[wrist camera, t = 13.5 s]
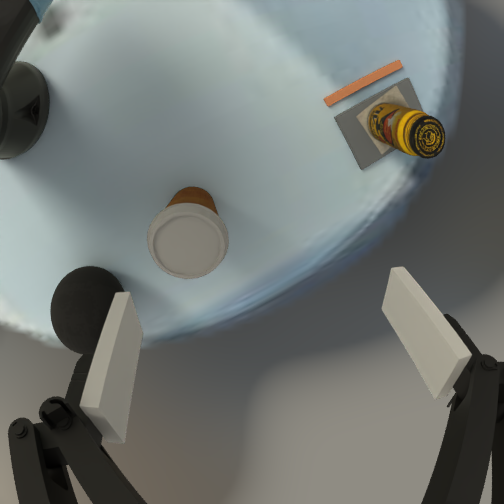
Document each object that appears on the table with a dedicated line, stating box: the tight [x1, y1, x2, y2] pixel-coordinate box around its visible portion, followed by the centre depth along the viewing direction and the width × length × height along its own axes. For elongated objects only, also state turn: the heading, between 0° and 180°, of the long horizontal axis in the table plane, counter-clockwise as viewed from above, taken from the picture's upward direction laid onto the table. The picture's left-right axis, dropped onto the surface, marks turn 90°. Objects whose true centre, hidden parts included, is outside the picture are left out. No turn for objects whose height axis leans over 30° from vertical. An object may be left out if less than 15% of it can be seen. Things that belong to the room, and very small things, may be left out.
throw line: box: [324, 60, 403, 106], centre depth 39 cm, size 1×14×1 cm, turn 123°
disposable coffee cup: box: [147, 187, 229, 279], centre depth 41 cm, size 10×10×12 cm
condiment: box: [356, 86, 445, 159], centre depth 36 cm, size 7×8×12 cm
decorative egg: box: [51, 266, 124, 354], centre depth 44 cm, size 12×12×15 cm
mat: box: [334, 78, 423, 169], centre depth 42 cm, size 9×14×1 cm, turn 123°
